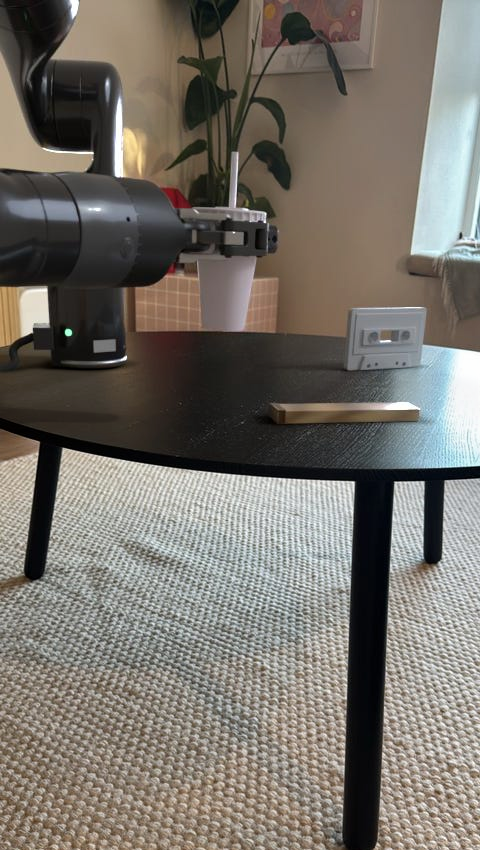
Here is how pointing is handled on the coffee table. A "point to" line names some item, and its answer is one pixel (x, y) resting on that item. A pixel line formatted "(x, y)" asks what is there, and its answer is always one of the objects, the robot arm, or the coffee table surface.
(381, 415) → the batten
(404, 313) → the cassette
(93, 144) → the robot arm
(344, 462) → the coffee table surface
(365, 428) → the coffee table surface
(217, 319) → the smoothie
